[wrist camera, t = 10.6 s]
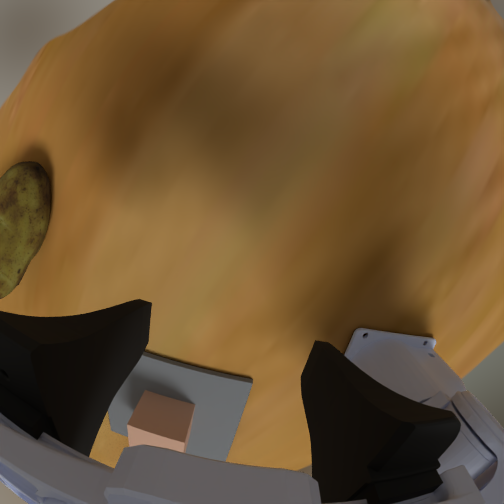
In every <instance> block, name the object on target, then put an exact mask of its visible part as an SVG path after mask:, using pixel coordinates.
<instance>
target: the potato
mask: <svg viewBox="0 0 504 504" xmlns="http://www.w3.org/2000/svg"><path fill="white" fill-rule="evenodd" d="M49 217H50V182H49V178H48V176H47V174H46V172H45V170H44V169H43V167H42V166H41V165H40V164H39V163H37V162H21V163H18V164H16V165H14V166H12V167H11V168H10V169H9V170H8V171H7V172H6V173H5V174H4V175H3V176H2V177H1V178H0V299H2V298H4V297H5V296H7V295H8V294H9V293H10V292H12V291H13V289H14V288H15V287H16V286H17V285H19V283H20V281H21V279H22V277H23V276H24V273H25V272H26V269H27V267H28V265H29V263H30V261H31V260H32V259H33V257H34V256H35V255H36V254H37V253H38V251H39V249H40V248H41V245H42V243H43V240H44V237H45V234H46V231H47V228H48V223H49Z"/></svg>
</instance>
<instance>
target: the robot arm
mask: <svg viewBox="0 0 504 504" xmlns="http://www.w3.org/2000/svg"><path fill="white" fill-rule="evenodd" d="M151 306H152V303H151V302H147V301H144V300H141V299H137V300H133V301H129V302H126V303H123V304H119V305H116V306H113V307H110V308H106V309H102V310H98V311H94V312H90V313H86V314H80V315H73V316H62V317H35V316H25V315H18V314H13V313H8V312H3V311H0V481H1V482H2V483H3V484H5V485H6V486H7V487H8V488H10V490H12V491H13V492H14V493H15V494H17V495H18V496H19V497H20V498H22V499H23V500H24V501H25V502H27V503H28V504H504V429H503V427H502V426H501V425H500V424H499V422H497V420H496V419H495V418H494V417H493V415H492V414H491V413H490V412H489V411H488V410H487V409H486V408H485V406H484V405H483V404H482V403H481V402H480V401H479V400H478V399H477V398H476V397H475V396H474V395H473V394H472V393H471V392H469V391H466V389H465V385H464V383H463V382H462V380H461V379H460V377H459V376H458V375H457V374H456V373H455V372H454V371H453V370H452V369H451V368H450V367H449V366H448V365H447V364H446V363H445V362H444V360H443V359H442V358H441V357H440V356H439V355H438V354H437V353H436V352H435V351H434V350H433V348H434V346H435V344H436V340H435V339H434V338H430V337H422V336H414V335H406V334H399V333H391V332H385V331H378V330H371V329H365V328H358V329H356V330H355V331H354V333H353V336H352V338H351V341H350V343H349V345H348V348H347V350H346V352H345V354H344V355H343V354H342V353H341V352H340V351H339V350H337V349H336V348H335V347H334V346H332V345H331V344H330V343H328V342H322V341H316V340H315V342H314V345H313V348H312V350H311V353H310V355H309V358H308V360H307V363H306V365H305V367H304V370H303V372H302V375H301V393H302V400H303V404H304V409H305V414H306V419H307V423H308V428H309V433H310V440H311V454H312V477H311V476H310V475H308V474H306V473H304V472H298V471H293V470H288V469H282V468H269V467H259V466H251V465H243V464H237V463H230V462H224V461H219V460H214V459H209V458H204V457H199V456H195V455H191V454H187V453H183V452H179V451H175V450H172V449H168V448H162V447H157V446H151V445H146V444H144V445H137V446H132V447H126V448H124V449H123V452H122V454H121V456H120V458H119V460H118V462H117V464H116V467H115V469H114V468H112V467H109V466H107V465H105V464H102V463H100V462H98V461H96V460H94V459H92V458H89V455H90V452H91V449H92V446H93V444H94V441H95V438H96V436H97V433H98V431H99V428H100V426H101V424H102V422H103V419H104V417H105V415H106V413H107V411H108V409H109V407H110V405H111V402H112V400H113V398H114V397H115V395H116V393H117V392H118V390H119V389H120V387H121V386H122V384H123V383H124V382H125V380H126V379H127V377H128V376H129V374H130V373H131V372H132V370H133V369H134V367H135V366H136V364H137V363H138V361H139V360H140V358H141V356H142V354H143V352H144V350H145V348H146V346H147V344H148V342H149V328H150V317H151ZM365 333H367V334H366V335H365V336H363V334H365ZM424 342H425V343H424Z"/></svg>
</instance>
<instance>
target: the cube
mask: <svg viewBox="0 0 504 504" xmlns="http://www.w3.org/2000/svg"><path fill="white" fill-rule="evenodd" d="M194 409H195V404H191V403H187V402H184V401H180V400H176V399H173V398H169V397H166V396H163V395H160V394H156V393H153V392H150V391H147V390H145V391H144V393H143V395H142V397H141V398H140V400H139V402H138V404H137V406H136V408H135V410H134V412H133V414H132V416H131V418H130V420H129V421H128V423H127V429H128V439H129V447H132V446H137V445H144V444H146V445H151V446H157V447H162V448H168V449H172V450H175V451H179V452H183V453H185V452H186V448H187V444H188V440H189V437H190V432H191V426H192V421H193V415H194Z"/></svg>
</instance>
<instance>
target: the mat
mask: <svg viewBox="0 0 504 504" xmlns="http://www.w3.org/2000/svg"><path fill="white" fill-rule="evenodd" d="M252 384H253V379H249V378H243V377H238V376H234V375H229V374H224V373H220V372H216V371H211V370H207V369H203V368H199V367H195V366H191V365H188V364H184V363H180V362H177V361H173V360H170V359H166V358H163V357H160V356H157V355H153V354H150V353H147V352H143V354H142V356H141V358H140V360H139V361H138V363H137V364H136V366H135V367H134V369H133V370H132V372H131V373H130V374H129V376H128V377H127V379H126V380H125V382H124V383H123V384H122V386H121V387H120V389H119V390H118V392H117V393H116V395H115V397H114V398H113V400H112V402H111V405H110V407H109V409H108V413H109V419H110V426H111V430H112V431H114V432H116V433H119V434H121V435H124V436H127V437H128V429H127V423H128V421H129V420H130V418H131V416H132V414H133V412H134V410H135V408H136V406H137V404H138V402H139V400H140V398H141V397H142V395H143V393H144V391H145V390H147V391H150V392H153V393H156V394H160V395H163V396H166V397H169V398H173V399H176V400H180V401H184V402H187V403H191V404H195V409H194V415H193V421H192V426H191V432H190V437H189V440H188V444H187V448H186V452H185V453H187V454H191V455H195V456H199V457H204V458H209V459H214V460H219V461H224V462H225V461H226V458H227V455H228V453H229V450H230V447H231V444H232V442H233V439H234V436H235V433H236V431H237V428H238V425H239V422H240V419H241V416H242V413H243V410H244V407H245V405H246V402H247V399H248V396H249V393H250V390H251V387H252Z"/></svg>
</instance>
